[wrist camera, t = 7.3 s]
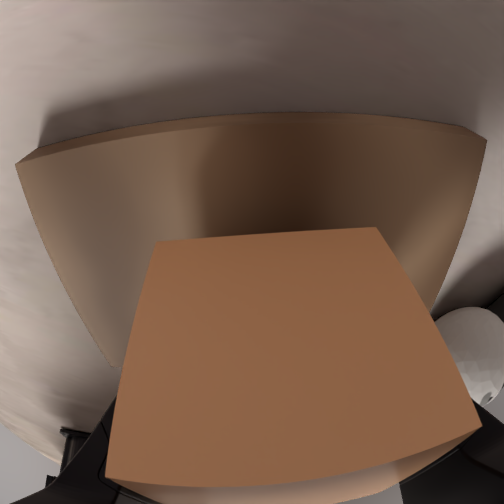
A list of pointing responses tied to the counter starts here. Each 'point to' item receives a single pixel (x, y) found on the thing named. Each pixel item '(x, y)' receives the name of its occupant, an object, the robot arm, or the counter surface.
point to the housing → (282, 373)
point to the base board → (243, 196)
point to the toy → (477, 347)
